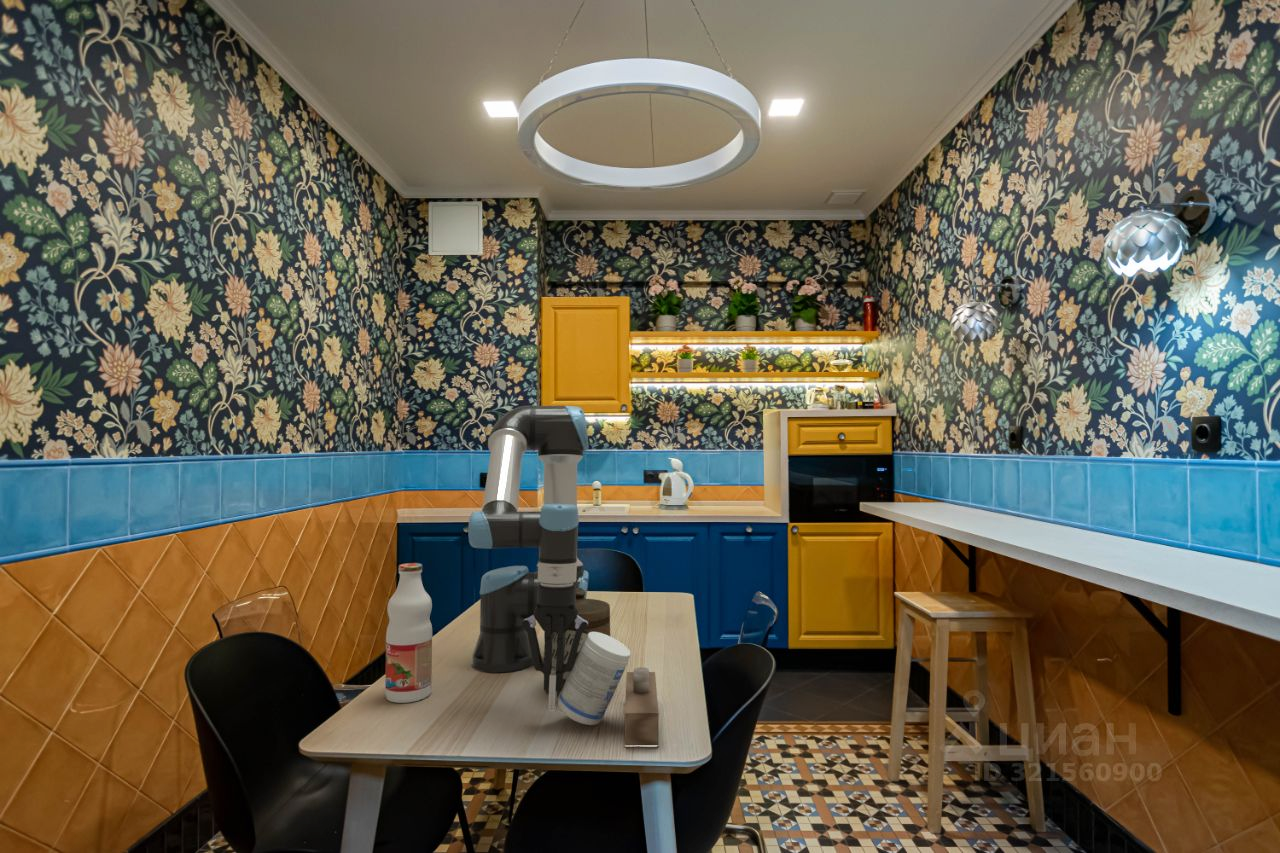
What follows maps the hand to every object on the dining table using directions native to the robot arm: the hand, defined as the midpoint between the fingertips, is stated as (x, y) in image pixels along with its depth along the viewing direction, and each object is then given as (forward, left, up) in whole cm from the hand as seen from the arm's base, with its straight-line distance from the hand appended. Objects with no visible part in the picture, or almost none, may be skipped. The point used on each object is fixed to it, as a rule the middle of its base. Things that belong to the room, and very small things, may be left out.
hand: (552, 707), depth 126 cm
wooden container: (+3, +20, -3) cm, 21 cm away
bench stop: (+17, +1, -3) cm, 17 cm away
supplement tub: (+5, +1, -1) cm, 5 cm away
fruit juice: (-33, +15, -3) cm, 36 cm away
